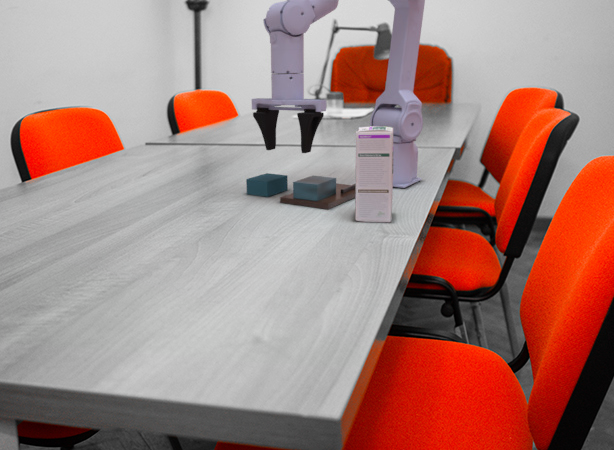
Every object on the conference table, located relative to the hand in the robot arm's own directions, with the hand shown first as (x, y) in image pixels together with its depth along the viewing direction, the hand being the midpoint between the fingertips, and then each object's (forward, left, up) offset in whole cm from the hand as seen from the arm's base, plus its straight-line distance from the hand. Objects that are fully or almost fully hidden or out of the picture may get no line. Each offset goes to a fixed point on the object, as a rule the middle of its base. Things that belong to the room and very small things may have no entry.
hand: (288, 151), depth 104 cm
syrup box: (+4, +19, -9) cm, 21 cm away
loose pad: (-3, -7, -9) cm, 12 cm away
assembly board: (-5, +5, -9) cm, 12 cm away
